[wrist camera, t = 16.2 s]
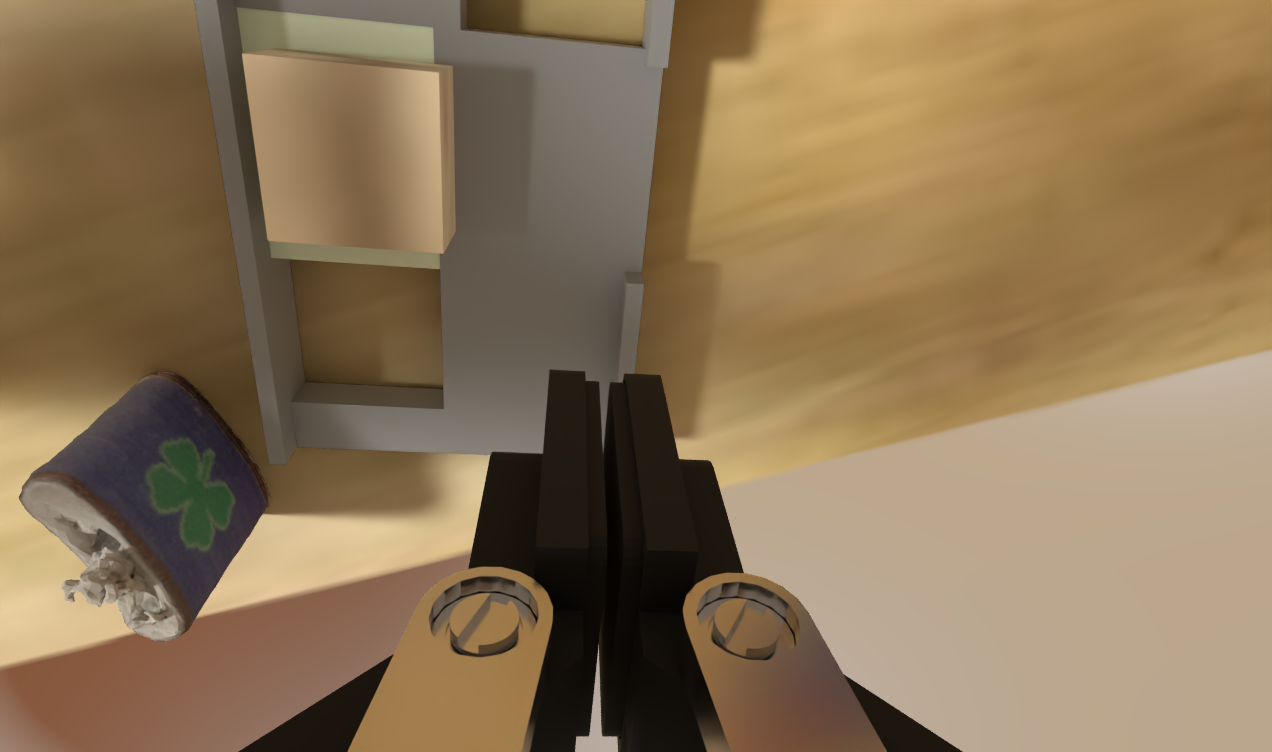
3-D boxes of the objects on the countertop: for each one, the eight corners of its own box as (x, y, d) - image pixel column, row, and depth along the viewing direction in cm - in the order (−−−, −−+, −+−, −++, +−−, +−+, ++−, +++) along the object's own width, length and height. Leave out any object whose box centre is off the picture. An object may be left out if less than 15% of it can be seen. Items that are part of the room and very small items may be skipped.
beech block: (296, 219, 30) (267, 240, 27) (275, 47, 27) (241, 53, 24) (455, 231, 31) (443, 253, 28) (452, 65, 28) (438, 72, 25)
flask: (130, 378, 35) (-36, 520, 25) (185, 359, 35) (38, 496, 25) (237, 520, 39) (129, 687, 30) (286, 504, 39) (193, 668, 29)
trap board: (295, 424, 37) (269, 464, 33) (200, -262, 24) (145, -300, 21) (619, 439, 38) (623, 477, 35) (684, -195, 26) (698, -221, 23)
